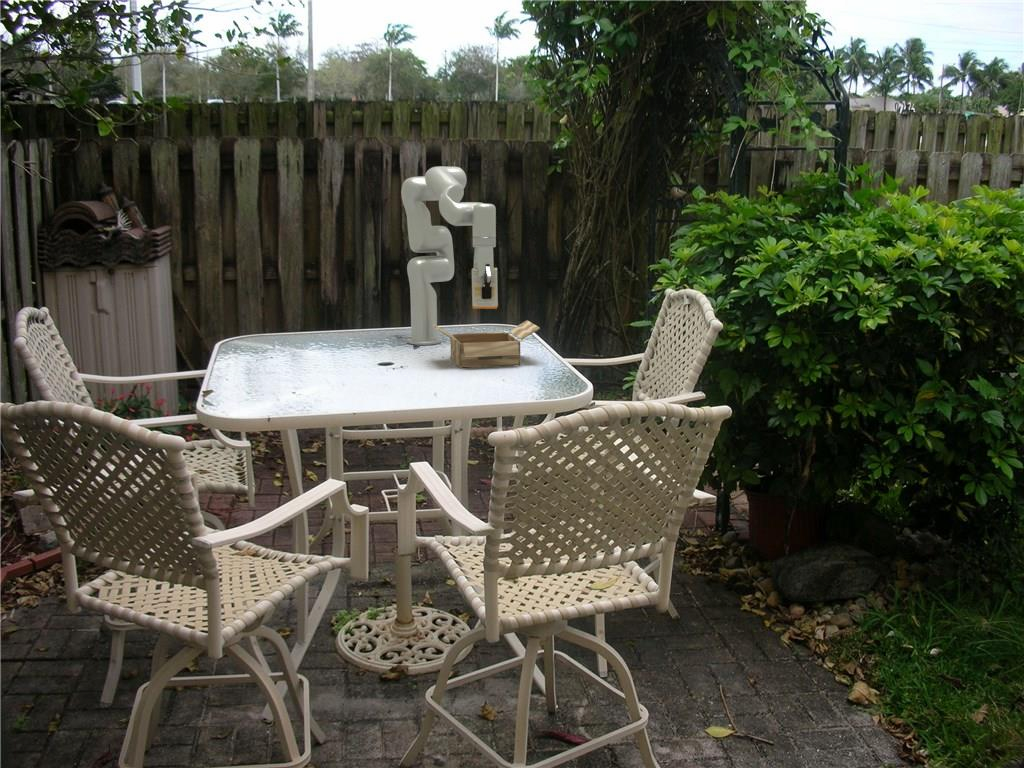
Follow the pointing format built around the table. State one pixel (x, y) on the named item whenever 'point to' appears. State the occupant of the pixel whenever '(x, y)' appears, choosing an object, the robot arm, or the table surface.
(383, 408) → the table surface
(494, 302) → the supplement box
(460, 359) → the wooden crate
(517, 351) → the flap
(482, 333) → the flap
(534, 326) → the flap
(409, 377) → the table surface
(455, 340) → the flap
